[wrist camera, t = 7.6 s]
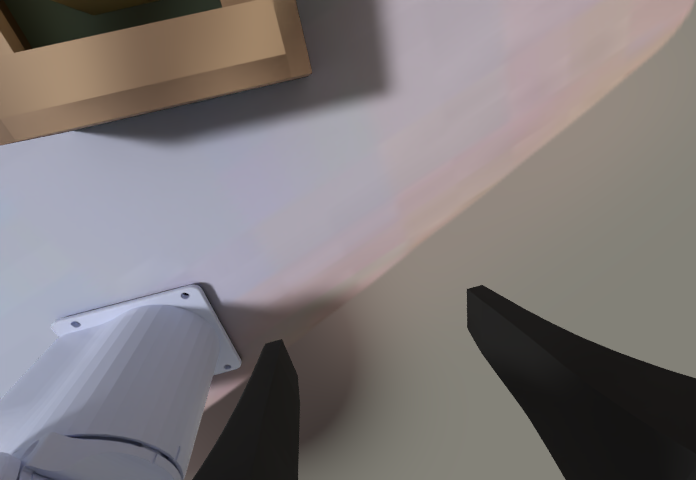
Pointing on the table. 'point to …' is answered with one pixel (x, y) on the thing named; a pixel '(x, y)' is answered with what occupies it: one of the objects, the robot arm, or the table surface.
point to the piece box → (137, 59)
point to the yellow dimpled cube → (101, 5)
